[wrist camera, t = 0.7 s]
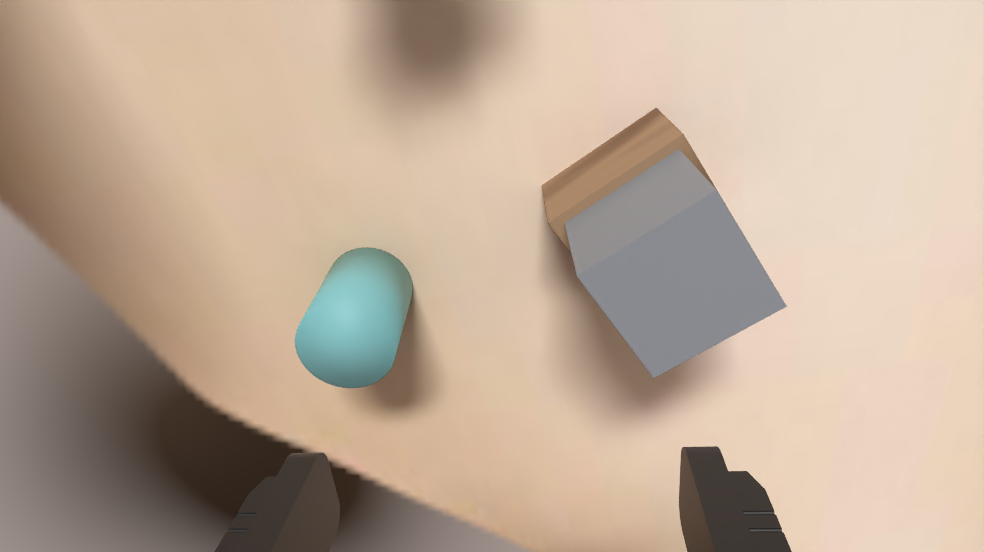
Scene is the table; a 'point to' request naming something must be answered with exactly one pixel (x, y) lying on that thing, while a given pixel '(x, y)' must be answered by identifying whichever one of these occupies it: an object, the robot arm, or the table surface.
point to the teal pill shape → (356, 319)
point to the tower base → (613, 168)
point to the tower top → (670, 265)
